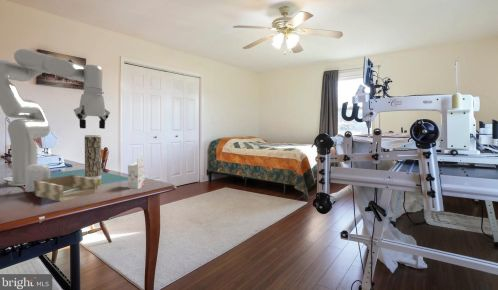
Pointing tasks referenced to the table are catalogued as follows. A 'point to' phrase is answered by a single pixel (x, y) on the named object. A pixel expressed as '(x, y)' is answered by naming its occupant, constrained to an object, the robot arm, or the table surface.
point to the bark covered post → (93, 157)
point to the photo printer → (35, 175)
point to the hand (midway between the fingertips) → (92, 128)
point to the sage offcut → (71, 190)
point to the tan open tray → (65, 187)
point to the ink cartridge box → (136, 174)
